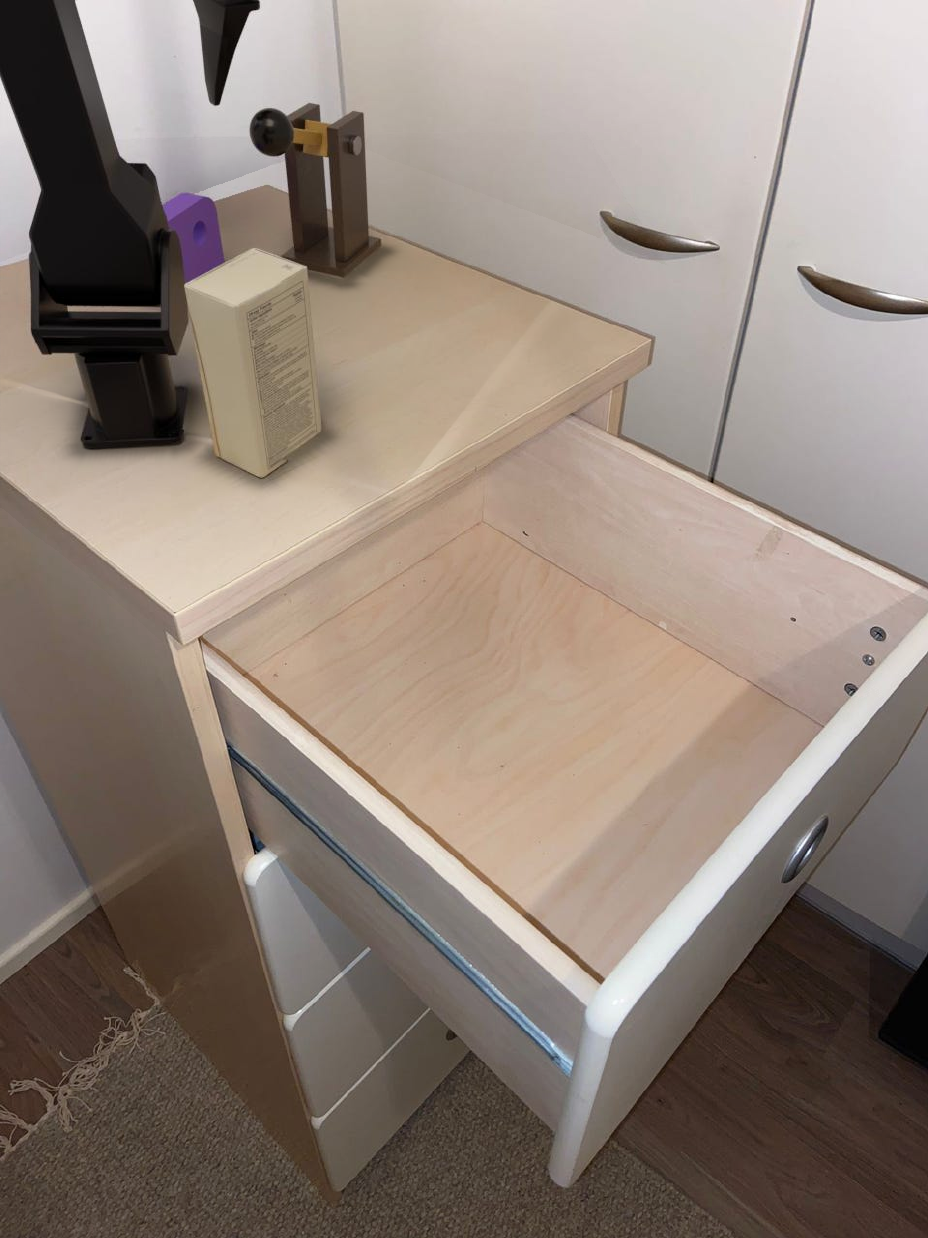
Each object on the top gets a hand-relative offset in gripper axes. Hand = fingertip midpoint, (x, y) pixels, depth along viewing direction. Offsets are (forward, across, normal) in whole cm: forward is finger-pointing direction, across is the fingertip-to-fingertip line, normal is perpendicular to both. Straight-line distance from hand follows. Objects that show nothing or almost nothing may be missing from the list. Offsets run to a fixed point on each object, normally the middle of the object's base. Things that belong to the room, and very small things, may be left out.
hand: (157, 113), depth 72 cm
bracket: (+13, +3, -3) cm, 14 cm away
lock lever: (+3, -9, +5) cm, 10 cm away
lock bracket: (+13, -12, +3) cm, 18 cm away
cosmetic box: (+14, +5, +25) cm, 29 cm away
